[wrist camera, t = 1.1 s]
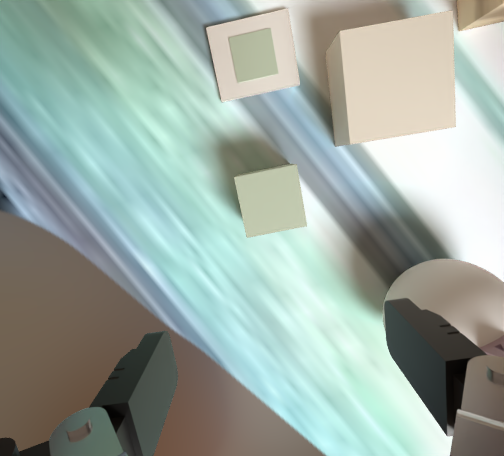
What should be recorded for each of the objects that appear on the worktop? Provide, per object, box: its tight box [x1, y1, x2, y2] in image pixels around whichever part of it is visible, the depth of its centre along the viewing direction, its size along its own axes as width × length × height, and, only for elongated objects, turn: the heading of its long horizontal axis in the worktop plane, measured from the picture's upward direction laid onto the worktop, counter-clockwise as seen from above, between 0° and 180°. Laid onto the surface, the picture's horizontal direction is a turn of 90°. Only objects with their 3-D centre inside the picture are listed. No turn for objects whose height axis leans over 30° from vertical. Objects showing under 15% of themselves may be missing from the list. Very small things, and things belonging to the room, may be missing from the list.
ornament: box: [383, 259, 504, 357], centre depth 26 cm, size 10×10×12 cm
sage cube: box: [234, 164, 307, 238], centre depth 28 cm, size 5×5×5 cm
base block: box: [326, 10, 456, 147], centre depth 26 cm, size 8×8×5 cm
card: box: [206, 8, 300, 103], centre depth 27 cm, size 7×6×1 cm
